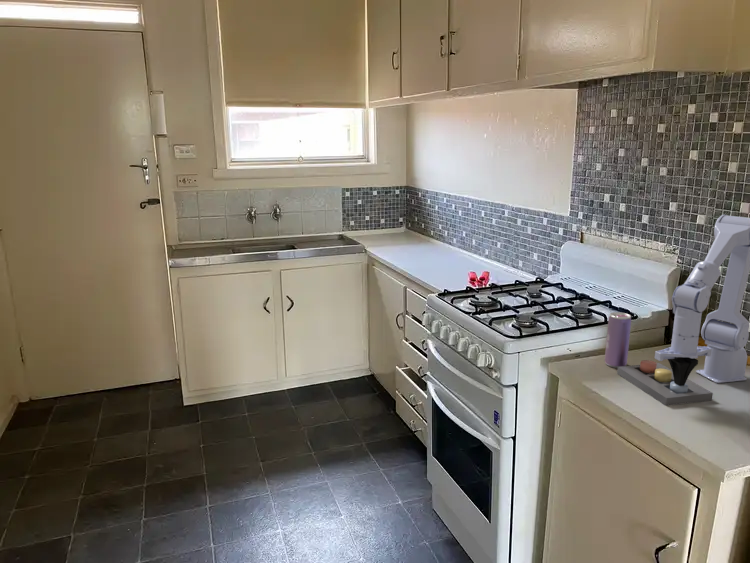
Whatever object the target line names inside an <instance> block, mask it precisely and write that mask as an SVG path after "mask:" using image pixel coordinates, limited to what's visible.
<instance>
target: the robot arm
mask: <svg viewBox="0 0 750 563" xmlns="http://www.w3.org/2000/svg"><path fill="white" fill-rule="evenodd" d="M713 228H714V229H713V230H714V231H713V233H714V234H713V235H714V240H713V243H712V244H711V247H710V248H709V251H708V252H707V254H706V256H705V259H704V260H703V261H699V262H697V263H696V264H695V266H694V267H693V269H692V271H691V272H690V274H689V276H688V277H687V279H686V280H685V281H684V283H683V284H681V285H678V286H676V288H675V289H674V291H673V293H672V296H671V305H672V307H673V308H672V314H674V317H673V318H674V320H673V326H672V327H673V328H672V336H671V344H670V346H669V347H666V348H664V349H663V348H662V349H659V350H655V351H654V359H655V360H657V361H659V362H662V361H664V360H667V361H668V364H669V366H670V369H671V370H672V372H673V377H674V383H675V384H677V385H679V386H684V385H685V383H686V380H687V379H689V376H690V375H691V372H693V370H694V369H695V367H696V366H698V364H699V359H698V358H699V357H703V356H705V360H704V366H703V369H696V370H695V372H696V373H697V374H699V375H701V376H702V377H704V378H706V379H708V380H710V381H712V382H714V383H715V384H721V383H732V382H741V381H747V380H748V378H747V377H745V375H746V369H747V362H748V354H747V350H746V349H745V348H744V347H745V346H746V345H747V344H748V341H749V338H750V337H749V336H750V332H749V331H750V330H749V329H750V322H749V320H748V319H747V318H746V317H745V316H744V315H743V314H742V313H741V308H742V303H743V299H744V294H745V290H746V286H747V282H748V279H749V273H750V217H745V216H736V215H735V216H734V215H727V214H721V215H720V216H719V217H717V219H716V221H715V224H714V227H713ZM729 255H730V256H729ZM728 256H729V259H728V264H727V268H726V269H727V270H726V273H725V276H724V281H723V286H722V291H721V295H720V299H719V305H718V309H716V310H714V311H711V312H709V313H708V314H707V315H706V317H705V321H704V322H703V325H702V327H701V321H702V316H703V315H702V314H703V312H704V311H705V310H706V308H707V307H708V304H709V303H710V302H709V301H710V297H711V296H712V288H713V287H714V285H715V284H716V282H718V279H719V277H720V275H721V270H720V267H721V265H722V264H723V263H724V261H725V260H727V259H726V258H728ZM700 329H701V330H700ZM700 334H701V335H700ZM699 336H701V338H702V339H703V341H704V344H705V345H706V346H705V345H704V346H698V345H699Z"/></svg>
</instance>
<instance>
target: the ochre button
mask: <svg viewBox="0 0 750 563" xmlns="http://www.w3.org/2000/svg"><path fill="white" fill-rule="evenodd" d="M671 378H672V372H671V371H670V370H667V369H661V368H659V369H656V370H655V376H654V379H655V380H657V381H660V382H671Z"/></svg>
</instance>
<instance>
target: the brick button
mask: <svg viewBox="0 0 750 563" xmlns="http://www.w3.org/2000/svg"><path fill="white" fill-rule="evenodd" d="M657 363H658V362H656V361H653V360H649V359H643V360H640V364H639V365H640V370H641V371H642V372H645V373H655V370H656V367H657Z"/></svg>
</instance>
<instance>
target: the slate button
mask: <svg viewBox="0 0 750 563" xmlns="http://www.w3.org/2000/svg"><path fill="white" fill-rule="evenodd" d="M670 390H671V391H673V392H674V393H676V394H681V393H687V391H688V385H687V384H685V385H684V386H679V385H677V384H675V383H674V381H673V382H671V383H670Z"/></svg>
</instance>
